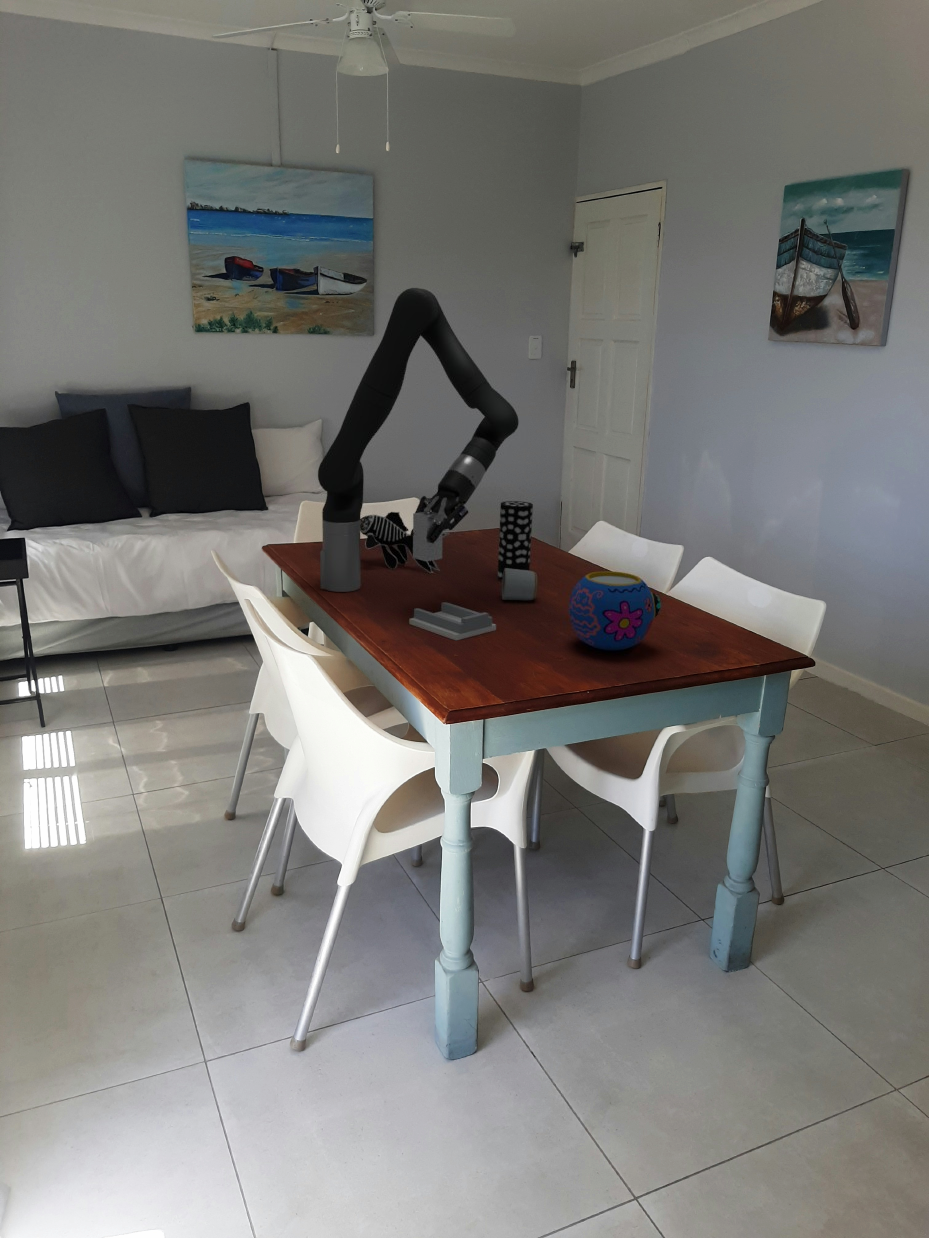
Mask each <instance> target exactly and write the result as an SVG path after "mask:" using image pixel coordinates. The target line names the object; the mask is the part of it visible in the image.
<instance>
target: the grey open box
mask: <svg viewBox="0 0 929 1238" xmlns="http://www.w3.org/2000/svg"><path fill="white" fill-rule="evenodd" d="M440 604H441V606H440V607H441V610H440V611H437V612H434V613H433V612H431V611H428V610H425V609H422V608H419V607H418V608H417V607H416V608H414V609H413V617H412V618H409V620H408V621H409V625H411V626H414V627H417V628H420V629H423V630H426V631H428V632H430V633H433V634H437V635H439V636H442V637H445V638H448V639H451V640H453V641H460V640H462V639H463V640H464V639H467V638H471V637H474V636H479V635H482V634H487V633H489V632H490V633H491V632H494V631H497V624H496V623H493V617H492V616H491V615H489V613H488V612H485V611H484V612H478V611H474V610H471V609H468V608H465V607H462V606H459V605H456V604H453V603H450V602H446V601H444V602H441V603H440Z"/></svg>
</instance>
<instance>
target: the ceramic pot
mask: <svg viewBox="0 0 929 1238" xmlns="http://www.w3.org/2000/svg"><path fill="white" fill-rule="evenodd" d="M661 603H662V602H661V599H660V597H659V596H658V595H657V594H656V593H653V592H652V590H650V588H649V585H648V584H647V583H646V582H645V581H644V580H643V579H642V578H640V577H639V576H637V575H635V574H631V573H629V572H620V571H610V570H609V571H608V570H606V571H594V572H590V573H588V574H586V575H584V576H583V577H582V578H581V579H580V580H579V581H578V582H577V583H576V585H575V586H574V588H573V590H572V593H571V594H570V598H569V603H568V615H569V621H570V625H571V626H572V630H573V631H574V633H575V636H576V637H578V638H577V639H579V640H581V641H582V642H583V643H584V644H585V645H588V646H591V647H592V648H595V649H598V650H602V651H613V652H614V651H621V650H622V651H623V650H626V649H629V648H631V647H634V646H636V645H638V644H639V643H641V641H643V640H644V638H645V637H646V636H647V635H648V633H649V631H650V629H651V627H652V625H653V622H654V620H655V619H656V617H657V616H658V615H659V613H660V612H661V608H662V605H661Z"/></svg>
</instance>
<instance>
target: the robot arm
mask: <svg viewBox="0 0 929 1238" xmlns="http://www.w3.org/2000/svg"><path fill="white" fill-rule="evenodd" d="M420 338H423V340H424V341H426V343H427V344H428V346H429V347H430V348H431V349H432V351H433V352H434V354H435V355H436V356H437V359H438V360H439V362H440V364H441V366H442V368H443V371H444V372H445V374H446V377H447V378H448V380H449V383H451V385H452V386H453V388H454V389H455V391H456V392H457V393H458V395H459V396H460V398H461V399H462V400H463V402H464V403H465V404H466V406H467V407H468V408H470V409H473V410H475V409H477V410H478V411H479V412H480V413H481V414H482V415H483V419H482V420H481V421H480V422H479V424H478V426H477V427H476V429H475V431H474V433H473V435H472V437H471V439H470V440H469V441H468V443H467V444H466V445H465V447H464V448H463V450H462V451H461V452H460V454H459V456H457V458H456V459H455V460H454V461H453V462H452V464H451V465H450V467H449V468H448V469H447V471H446V472H445V474H444V475H443V477H442V478H441V479H440V481H439V483H438V484H437V491H436V493H435V494H433V496H432V497H428V498H427V497H426V495H422V496H421V498H420V499H419V502H418V505H417V507H416V509H415V511H414V513H420V512H426V511H430V512H435V513H438V515H439V518H438V520H437V522H436V524H437V525H434V526H433V528H432V529H431V531H430V532H429V534H428V535H427V537H426V539H427V540H428V541H429V542H430V543H432V544H433V543H434V542H435V541H436V540H437V539H438V537H439V536H440V534H441V533H442V531H443V532H445V531H446V530H449V531H452V530H454V528H455V527H456V526H457V525H458V524H459V523H460V522H461V521H462V520H463V519H464V518H465V517H466V516H467V515H469V513H470V512H469V510H468V508H467V507H466V506H465V505H466V504H467V502H468V501H469V499H470V498H471V497H472V495H473V494H474V492H475V490H477V488H478V486H479V485H480V483H481V482H482V479H483V477H484V476H485V474H486V472H487V470H488V469H489V468H490V466H491V465H492V463H493V462H494V461H495V460H494V459H495V458H496V455H497V451H498V450H499V448H500V447H501V445H502V444H503V443H504V441H505V440H506V439H507V438H509V437H510V436H511V435H513V434H514V433H515V432H516V431H517V429H518V427H519V422H520V421H519V417H518V414H517V412H516V410H515V408H514V407H513V405H512V404H511V403H510V402H509V401H508V400H506V398H505V397H504V396H502V395H501V394H500V393H499V392H498V391H497V390H496V389H495V388H493V386H491V384H490V383H489V380H487V378H486V376H485V375H484V374H483V373H482V371H481V370H480V368H479V367H478V365H477V364H476V363H475V361H474V360H473V359H472V358H471V356H470V354H469V353H468V352H467V351H466V349H465V348H464V346H463V345H462V343H461V342H460V340H459V339H458V337H457V335H456V334H455V332H454V330H453V328H452V327H451V324H450V323H449V321H448V320H447V318H446V315H445V313H444V311H443V309H442V307H441V305H440V304H439V301H438V299H437V297H436V295H434V293H432V292H431V291H429V290H428V289H424V288H419V287H411V288H407V289H405V290H403V291H402V292H400V293H399V295H398V296H397V298H396V300H395V302H394V304H393V307H392V311H391V314H390V316H389V319H388V322H387V324H386V328H385V331H384V334H383V336H382V338H381V341H380V342H379V345H378V346H377V348H376V350H375V352H374V354H373V356H372V357H371V360H370V362H369V363H368V366H367V367H366V370H365V372H364V374H363V376H362V378H361V380H360V381H359V385H358V386H357V388H356V391H355V392H354V395H353V397H352V399H351V402H350V404H349V406H348V408H347V409H348V410H347V411H346V414H345V416H344V419H343V421H342V424H341V427H340V428H339V431H338V434H337V435H336V437H335V439H334V440H333V442H332V444H331V446H330V447H329V449H328V451H326V454H325V456H324V457H323V459H322V460H321V462H320V463H319V467H318V468H317V469H318V470H317V479H318V482H319V485H320V487H321V489H323V490H324V491H325V492H326V497H325V498H326V499H325V503H324V505H323V507H322V512H321V517H322V518H321V519H322V524H321V525H322V549H321V550H320V551H319V553H320V556H319V557H320V558H319V561H320V563H319V564H320V568H319V569H320V571H319V572H320V573H319V574H320V589H321V590H326V591H328V592H329V591H330V592H337V593H339V592H341V593H344V592H346V593H347V592H354V591H357V590H359V589H360V588H361V582H362V581H361V580H362V579H361V531H360V519H361V515H362V514H361V512H362V509H363V504H364V483H365V482H364V479H365V478H364V477H365V475H364V467H363V464H362V462H361V460H362V457H363V454H364V452H365V450H366V448H367V446H368V445H369V443H370V442H371V440H372V439H373V438H374V437H375V435H376V434H377V433H378V432H379V430H380V429H381V427H382V426H383V424H384V423H385V421H386V420H387V419H388V417H389V415H390V414H391V412H392V409H393V408H394V406H395V403H396V402H397V400H398V397H399V396H400V393H401V390H402V387H403V385H404V381H405V380H404V379H405V374H406V371H407V366H408V362H409V359H410V356H411V354H412V352H413V350H414V348H415V346H416V344H417V342H418V341H419V339H420ZM452 520H453V521H452ZM410 534H411V536H412V537H413V528H412V529H411V531H410Z"/></svg>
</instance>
